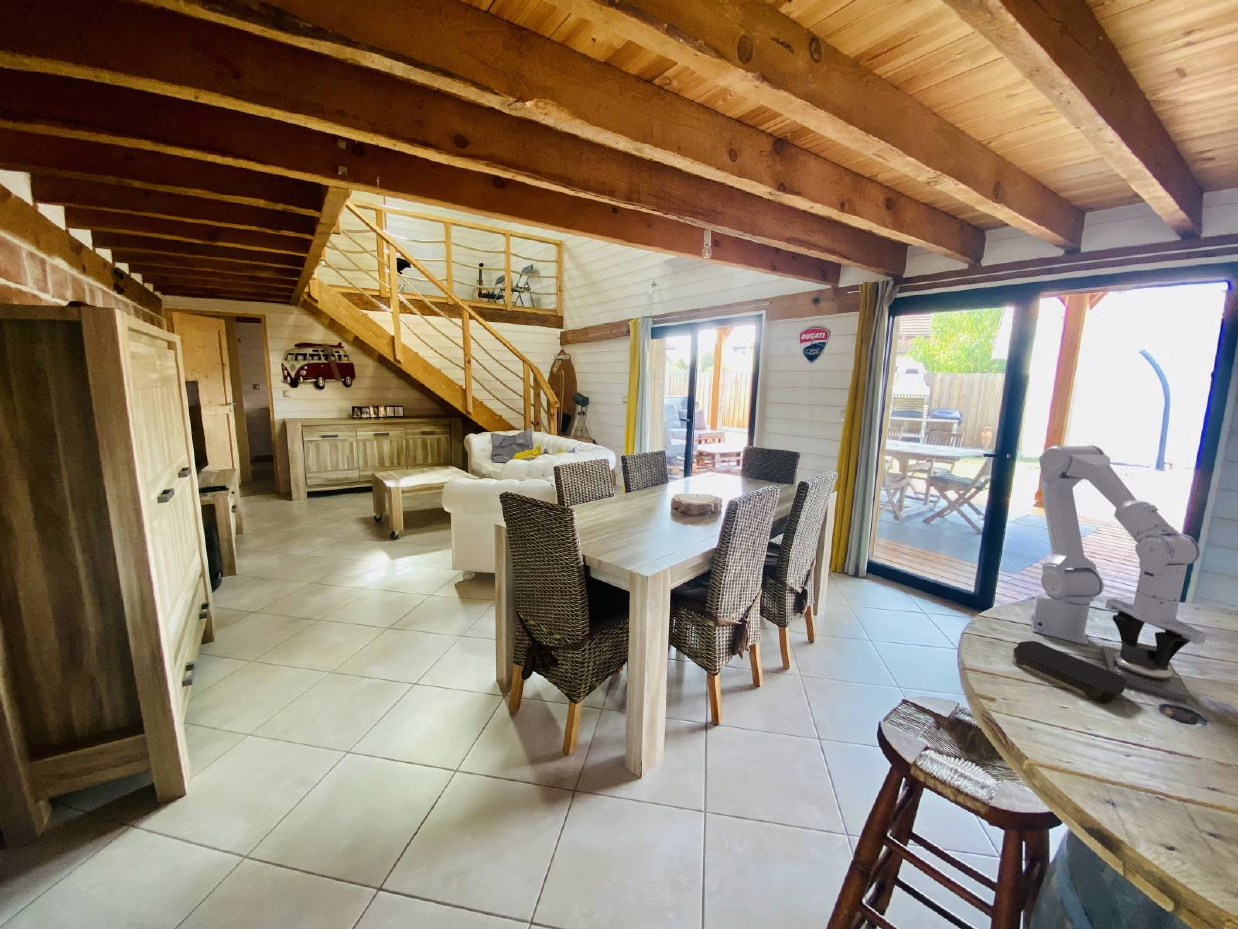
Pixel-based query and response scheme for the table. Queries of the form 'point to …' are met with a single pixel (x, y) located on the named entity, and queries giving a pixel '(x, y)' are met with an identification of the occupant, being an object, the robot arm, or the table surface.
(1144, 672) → the dial
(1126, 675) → the dial plate
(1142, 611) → the robot arm
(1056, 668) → the dark scrub brush
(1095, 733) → the table surface
